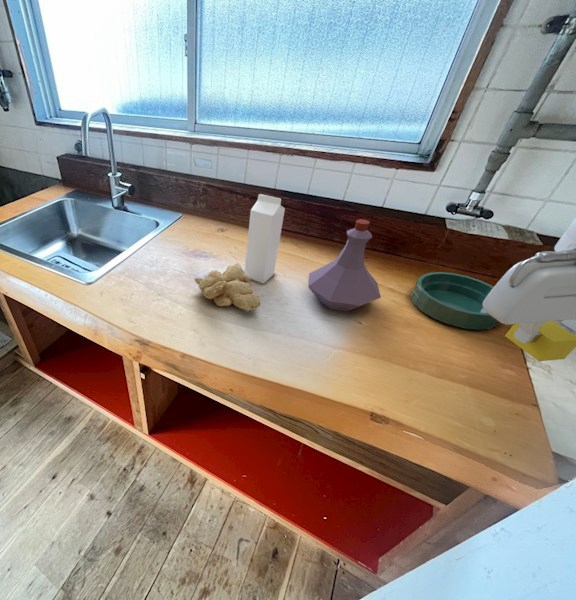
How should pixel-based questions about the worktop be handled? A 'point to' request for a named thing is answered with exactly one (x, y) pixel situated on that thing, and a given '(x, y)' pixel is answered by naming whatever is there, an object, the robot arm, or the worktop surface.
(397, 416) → the worktop surface
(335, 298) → the flask
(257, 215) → the milk
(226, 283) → the ginger root
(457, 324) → the bowl
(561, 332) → the yellow block
